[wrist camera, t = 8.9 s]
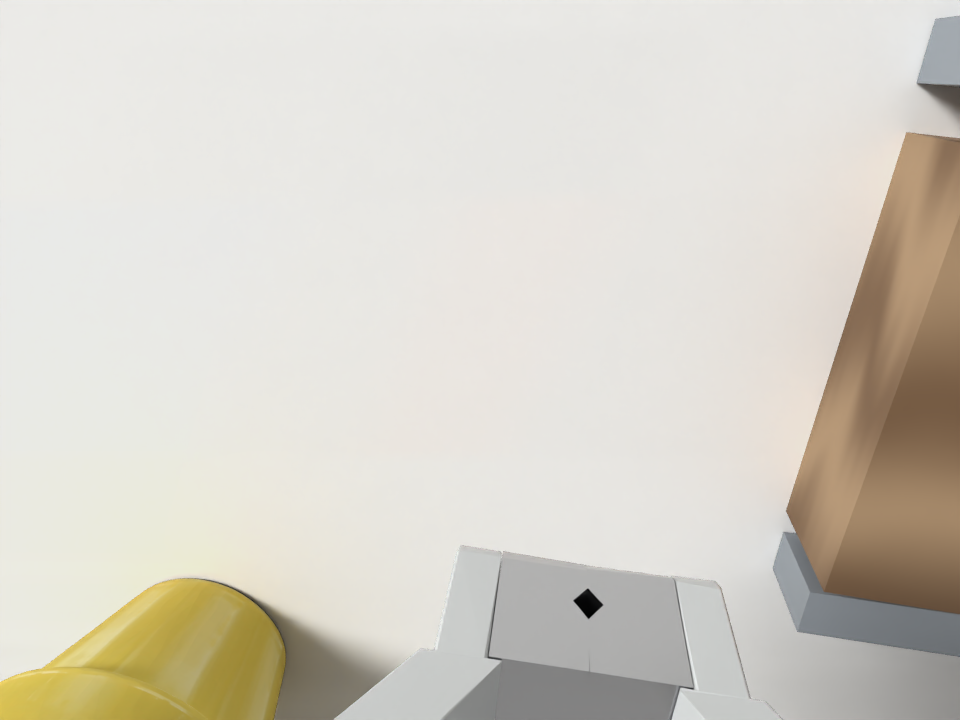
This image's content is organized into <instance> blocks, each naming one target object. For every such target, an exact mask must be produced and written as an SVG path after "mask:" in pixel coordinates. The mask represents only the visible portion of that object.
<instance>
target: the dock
mask: <svg viewBox="0 0 960 720" xmlns="http://www.w3.org/2000/svg"><path fill="white" fill-rule="evenodd" d="M917 83H922V84H933V85H944V86H956V87H960V16H954V17H947V18H940V19H935V23H934V26H933V29H932V33H931V36H930V40H929V43H928V46H927V50H926V53H925V56H924V60H923V63H922V67H921V70H920V73H919V77H918V80H917ZM773 570H774V573H775V575H776V578H777V580H778V583H779V586H780V588H781V591H782V593H783V596H784V599H785V601H786V604H787V606H788V609H789V612H790V614H791V617H792V619H793V622H794V625H795V627H796V630H797V632H803V633H809V634H816V635H822V636H828V637H835V638H841V639H848V640H854V641H861V642H867V643H874V644H880V645H887V646H893V647H900V648H906V649H913V650H919V651H926V652H932V653H939V654H945V655H952V656H958V657H960V614H955V613H949V612H943V611H937V610H931V609H925V608H919V607H913V606H907V605H901V604H895V603H888V602H882V601H876V600H870V599H864V598H858V597H852V596H846V595H840V594H834V593H828V592H824V591H823V589H822V587H821V585H820V583H819V580H818V578H817V576H816V574H815V572H814V570H813V568H812V565H811V563H810V561H809V559H808V557H807V555H806V552H805V550H804V548H803V546H802V544H801V542H800V540H799V537H798V535H797V534H794V533H787V532H783V536H782V539H781V543H780V546H779V549H778V553H777V556H776V559H775V563H774V566H773Z"/></svg>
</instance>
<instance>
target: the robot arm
mask: <svg viewBox="0 0 960 720" xmlns="http://www.w3.org/2000/svg"><path fill="white" fill-rule="evenodd" d="M501 556H502V562H501ZM500 567H501V569H500ZM334 720H783V719H782V718H781V717H780V716H779V715H778V714H777V713H776V712H775V711H774V710H773V709H772V708H771V707H770V706H769V705H768V704H767V703H766V702H765V701H760V700H754V699H751V697H750V694H749V690H748V686H747V683H746V679H745V675H744V671H743V668H742V664H741V660H740V656H739V653H738V649H737V645H736V642H735V638H734V634H733V630H732V627H731V623H730V619H729V616H728V612H727V608H726V604H725V601H724V597H723V593H722V590H721V587H720V586H719V585H718V584H717V582H716V581H710V580H701V579H693V578H685V577H676V576H671V577H668V576H660V575H653V574H646V573H639V572H631V571H624V570H617V569H609V568H602V567H595V566H587V565H583V564H577V563H571V562H564V561H558V560H552V559H546V558H540V557H534V556H528V555H522V554H516V553H510V552H504V551H503V555H502V553H501V552H500V551H494V550H488V549H482V548H476V547H469V546H463V545H460V547H459V549H458V551H457V553H456V556H455V560H454V565H453V569H452V573H451V578H450V582H449V586H448V591H447V595H446V599H445V604H444V608H443V612H442V617H441V621H440V625H439V630H438V634H437V638H436V643H435V647H434V650H430V649H423V648H420V649H419V650H418V651H417V652H415V653H414V654H413V655H412V656H410V657H409V658H408V659H407V660H406V661H404V662H403V663H402V664H401V665H399V666H398V667H397V668H396V669H395V670H393V671H392V672H391V673H390V674H388V675H387V676H386V677H385V678H384V679H382V680H381V681H380V682H379V683H378V684H376V685H375V686H374V687H373V688H371V689H370V690H369V691H368V692H367V693H365V694H364V695H363V696H362V697H360V698H359V699H358V700H357V701H356V702H354V703H353V704H352V705H351V706H349V707H348V708H347V709H346V710H345V711H343V712H342V713H341V714H340V715H338V716H337V717H336V718H335V719H334Z"/></svg>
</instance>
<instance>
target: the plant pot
mask: <svg viewBox="0 0 960 720" xmlns="http://www.w3.org/2000/svg"><path fill="white" fill-rule="evenodd" d="M285 664H286V652H285V647H284V643H283V640H282V638H281V635H280V633H279V631H278V629H277V628H276V626H275V624H274V623H273V621H272V620H271V619H270V618H269V616H268V615H267V614H266V613H265V612H264V611H263V610H262V609H261V608H260V607H259V606H258V605H257V604H255V603H254V602H253V601H252V600H250V599H249V598H247V597H246V596H244V595H243V594H241V593H239V592H238V591H236V590H234V589H232V588H229V587H227V586H224V585H221V584H218V583H215V582H211V581H207V580H201V579H193V578H182V579H174V580H169V581H165V582H161V583H159V584H156V585H154V586H152V587H150V588H148V589H147V590H145V591H144V592H142V593H141V594H139V595H138V596H137V597H135V598H134V599H133V600H131V601H130V602H129V603H127V604H126V605H125V606H124V607H122V608H121V609H120V610H118V611H117V612H116V613H114V614H113V615H112V616H111V617H109V618H108V619H107V620H105V621H104V622H103V623H101V624H100V625H99V626H98V627H96V628H95V629H94V630H92V631H91V632H90V633H88V634H87V635H86V636H84V637H83V638H82V639H80V640H79V641H78V642H76V643H75V644H74V645H72V646H71V647H70V648H68V649H67V650H66V651H64V652H63V653H62V654H60V655H59V656H58V657H56V658H55V659H54V660H53V661H51V662H50V663H49V664H47V665H46V666H45V667H43V668H42V669H36V670H31V671H27V672H24V673H21V674H18V675H15V676H12V677H10V678H8V679H6V680H4V681H2V682H0V720H274V716H275V711H276V706H277V702H278V697H279V693H280V688H281V684H282V679H283V674H284V670H285Z"/></svg>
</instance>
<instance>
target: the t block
mask: <svg viewBox="0 0 960 720" xmlns="http://www.w3.org/2000/svg"><path fill="white" fill-rule="evenodd" d="M786 512H787V514H788V516H789V518H790V520H791V522H792V525H793V527H794V529H795V531H796V533H797V535H798V537H799V540H800V542H801V544H802V546H803V548H804V550H805V552H806V555H807V557H808V559H809V561H810V563H811V565H812V568H813V570H814V572H815V574H816V576H817V578H818V580H819V583H820V585H821V587H822V589H823V591H824V592H828V593H834V594H840V595H846V596H852V597H858V598H864V599H870V600H876V601H882V602H888V603H895V604H901V605H907V606H913V607H919V608H925V609H931V610H937V611H943V612H949V613H955V614H960V138H951V137H942V136H934V135H925V134H916V133H907V132H906V135H905V139H904V142H903V145H902V148H901V151H900V154H899V157H898V161H897V164H896V167H895V170H894V173H893V176H892V179H891V183H890V186H889V189H888V192H887V195H886V198H885V201H884V205H883V208H882V211H881V214H880V217H879V220H878V223H877V227H876V230H875V233H874V236H873V239H872V242H871V245H870V249H869V252H868V255H867V258H866V261H865V264H864V267H863V271H862V274H861V277H860V280H859V283H858V286H857V290H856V293H855V296H854V299H853V302H852V305H851V308H850V312H849V315H848V318H847V321H846V324H845V327H844V330H843V334H842V337H841V340H840V343H839V346H838V349H837V352H836V356H835V359H834V362H833V365H832V368H831V371H830V374H829V378H828V381H827V384H826V387H825V390H824V393H823V396H822V400H821V403H820V406H819V409H818V412H817V415H816V418H815V422H814V425H813V428H812V431H811V434H810V437H809V440H808V444H807V447H806V450H805V453H804V456H803V459H802V462H801V466H800V469H799V472H798V475H797V478H796V481H795V484H794V488H793V491H792V494H791V497H790V500H789V503H788V506H787V510H786Z"/></svg>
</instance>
